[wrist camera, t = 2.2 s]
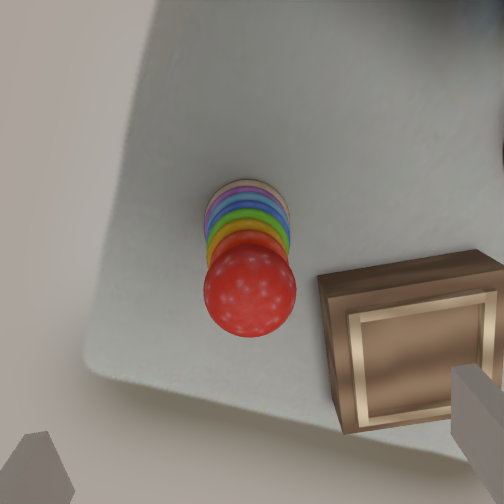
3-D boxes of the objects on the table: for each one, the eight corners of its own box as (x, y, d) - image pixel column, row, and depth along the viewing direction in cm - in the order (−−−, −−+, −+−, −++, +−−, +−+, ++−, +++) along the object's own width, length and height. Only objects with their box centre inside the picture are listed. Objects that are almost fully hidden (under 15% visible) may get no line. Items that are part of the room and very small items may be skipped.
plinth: (317, 275, 38) (329, 302, 33) (476, 249, 38) (515, 272, 32) (332, 400, 44) (345, 441, 38) (471, 378, 43) (504, 417, 38)
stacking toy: (304, 226, 37) (363, 332, 19) (239, 273, 38) (237, 410, 21) (255, 160, 34) (269, 210, 17) (188, 212, 36) (136, 308, 18)
